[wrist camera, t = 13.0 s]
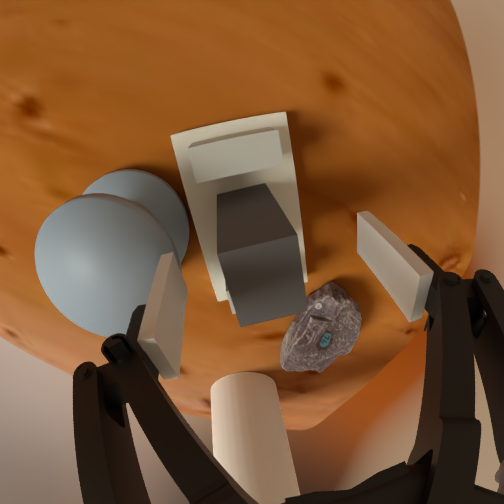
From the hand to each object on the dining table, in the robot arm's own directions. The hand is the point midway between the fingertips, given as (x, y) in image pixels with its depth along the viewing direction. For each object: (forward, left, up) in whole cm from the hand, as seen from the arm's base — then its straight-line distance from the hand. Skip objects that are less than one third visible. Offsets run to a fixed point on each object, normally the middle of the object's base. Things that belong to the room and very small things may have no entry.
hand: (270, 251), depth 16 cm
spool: (0, -11, -9) cm, 15 cm away
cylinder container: (+27, -6, -10) cm, 29 cm away
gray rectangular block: (+1, -1, -8) cm, 8 cm away
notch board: (+1, -1, -9) cm, 9 cm away
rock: (+16, +5, -10) cm, 20 cm away
